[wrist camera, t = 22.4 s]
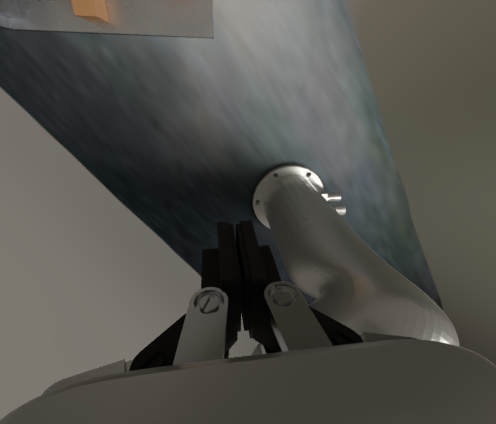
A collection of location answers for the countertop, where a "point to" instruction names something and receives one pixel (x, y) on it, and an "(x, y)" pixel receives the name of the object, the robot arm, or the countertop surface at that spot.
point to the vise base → (113, 17)
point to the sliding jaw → (90, 10)
